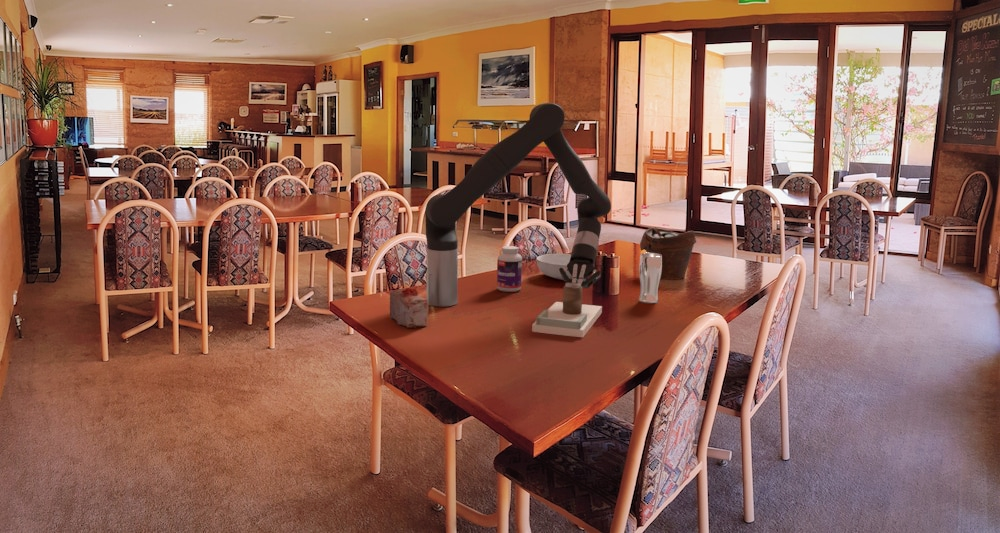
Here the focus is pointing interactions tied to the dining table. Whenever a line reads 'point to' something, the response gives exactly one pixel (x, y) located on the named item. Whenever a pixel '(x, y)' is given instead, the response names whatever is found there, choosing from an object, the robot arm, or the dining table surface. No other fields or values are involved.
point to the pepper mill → (572, 298)
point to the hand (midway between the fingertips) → (574, 298)
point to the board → (566, 320)
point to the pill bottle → (509, 269)
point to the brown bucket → (670, 250)
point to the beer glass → (650, 276)
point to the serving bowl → (553, 264)
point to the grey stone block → (408, 308)
